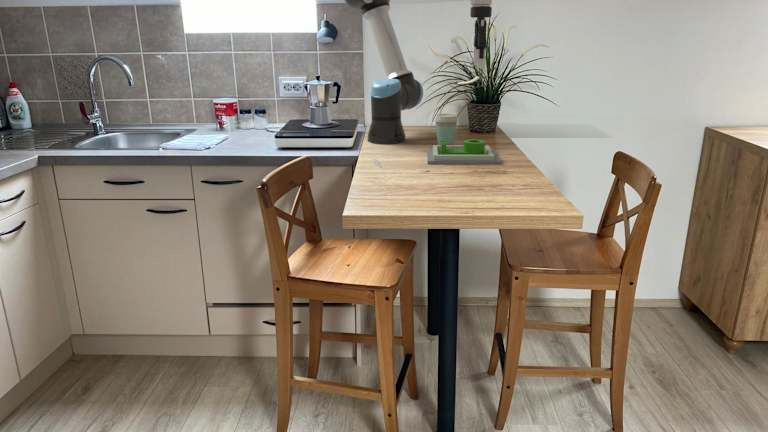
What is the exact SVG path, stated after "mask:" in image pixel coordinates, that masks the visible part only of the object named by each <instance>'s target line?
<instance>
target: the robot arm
mask: <svg viewBox="0 0 768 432" xmlns="http://www.w3.org/2000/svg"><path fill="white" fill-rule="evenodd" d="M344 2H345V3H346V4H347V5H348V7H350V8H353V9H357V10H360V12H361V15H362V17H363V18H364V19H365V20H367V21H368V24H369V27H370V30H371V32H372V36H373V38H374V41H375V44H376V48H377V50H378V53H379V56H380V59H381V61H382V65H383V68H384V71H385V73H386V76H387V77H386V78H384V79H379V80H375V81H374V82H372V84H371V86H370V95H371V96H370V99H371V100H370V106H371V109H370V110H371V122H370V125H369V129H368V132H367V142H369V143H372V144H381V145H382V144H383V145H387V144H388V145H389V144H399V143H403V142H405V141H406V133H405V129H404V127H403V126H404V125H403V123H402V111H406V110H411V109H413V108H415V107H417V106H419V104H421V102H422V100H423V98H424V88H423V85H422V83H421V82H420V81H418V80H417V79H416V78H415V76H414V74H413V72H412V71H411V70H409V69H408V68H407V65H406V61H405V59H404V56H403V53H402V50H401V47H400V43H399V41H398V38H397V35H396V32H395V29H394V26H393V24H392V21H391V17H390V14H389V11H390V9H391V5H390V2H391V0H344ZM492 4H493V0H470V5H471V7H470V17H471V18H472V19H473V18H474V19H475V18H476V19H475V21H474V22H475V23H474V40H473V46H474V48H473V49H474V50H473V66H476V69H485V63H486V48H487V24H488V23H487V20H486V18H491V17H492V14H493V13H492V12H493V11H492V10H493V9H492Z"/></svg>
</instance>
